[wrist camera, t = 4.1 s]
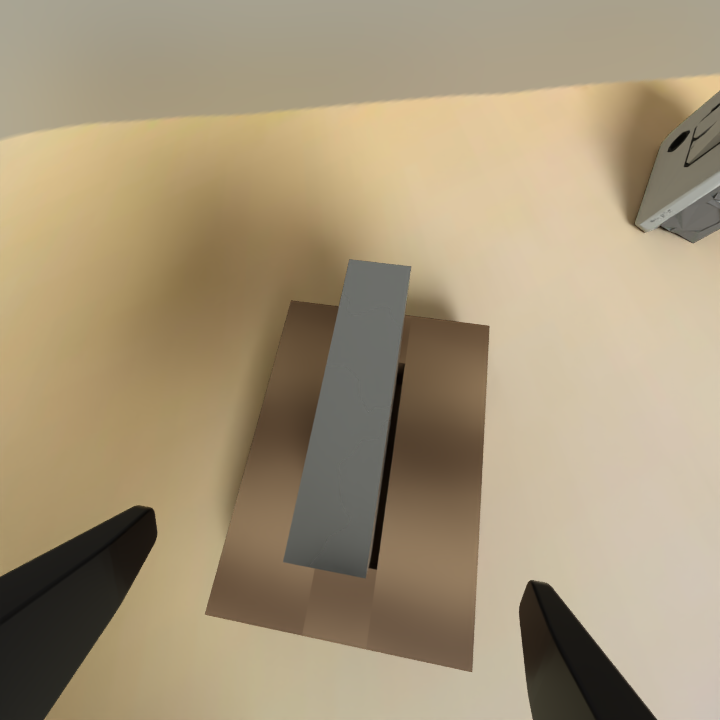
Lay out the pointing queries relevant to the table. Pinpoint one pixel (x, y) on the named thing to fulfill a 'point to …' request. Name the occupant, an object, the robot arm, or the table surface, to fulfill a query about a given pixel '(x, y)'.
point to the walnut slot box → (396, 505)
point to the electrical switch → (686, 178)
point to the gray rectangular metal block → (351, 425)
